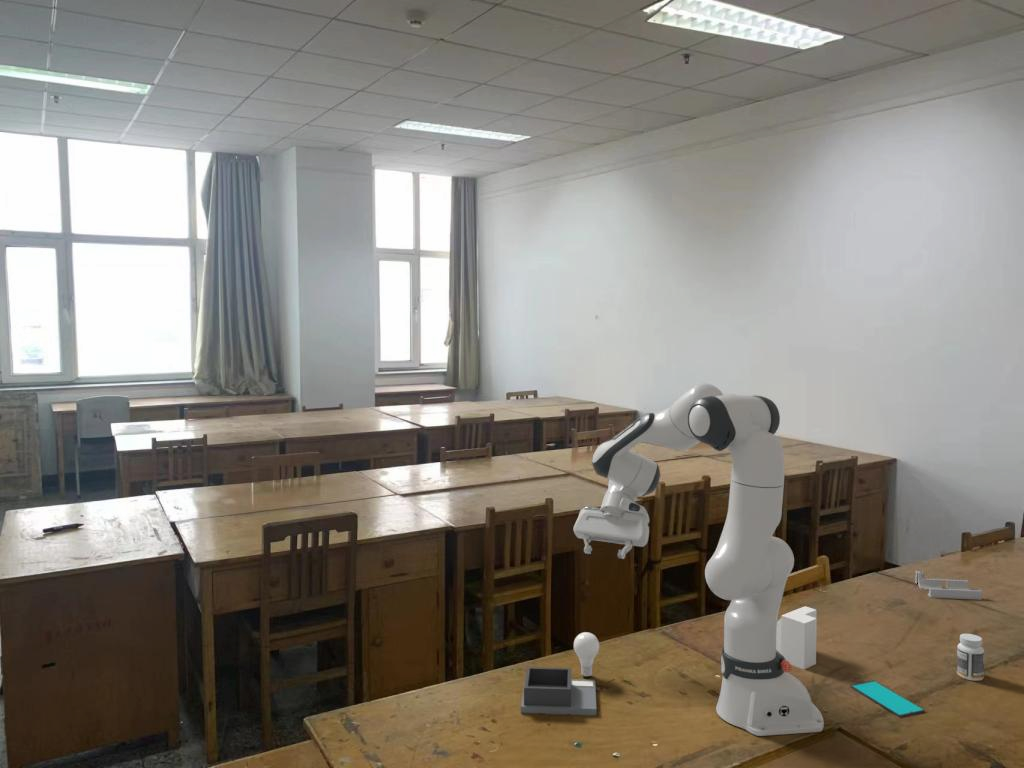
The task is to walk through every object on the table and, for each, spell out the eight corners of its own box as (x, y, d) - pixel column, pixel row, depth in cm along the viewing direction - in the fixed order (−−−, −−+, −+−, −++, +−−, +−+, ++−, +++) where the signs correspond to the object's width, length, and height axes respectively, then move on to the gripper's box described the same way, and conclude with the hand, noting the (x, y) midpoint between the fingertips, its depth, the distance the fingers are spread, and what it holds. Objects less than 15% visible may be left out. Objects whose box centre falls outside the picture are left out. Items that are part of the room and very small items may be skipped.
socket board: (595, 685, 180) (594, 663, 179) (596, 715, 166) (596, 691, 165) (525, 683, 181) (524, 661, 181) (520, 712, 167) (520, 689, 167)
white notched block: (803, 669, 187) (804, 623, 186) (765, 654, 196) (765, 610, 196) (827, 658, 193) (828, 613, 193) (788, 644, 203) (789, 601, 202)
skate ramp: (930, 598, 236) (930, 583, 236) (915, 584, 249) (915, 569, 249) (981, 601, 234) (982, 585, 234) (963, 586, 247) (964, 571, 247)
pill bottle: (981, 673, 184) (983, 634, 183) (985, 683, 179) (986, 643, 178) (955, 669, 186) (956, 630, 186) (958, 679, 181) (959, 639, 180)
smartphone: (874, 680, 180) (925, 710, 166) (873, 683, 180) (925, 713, 166) (849, 685, 178) (899, 715, 164) (849, 688, 178) (899, 719, 164)
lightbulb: (598, 683, 181) (598, 639, 180) (572, 681, 182) (572, 637, 182) (600, 671, 187) (600, 629, 187) (575, 669, 189) (575, 627, 188)
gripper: (578, 499, 205) (563, 543, 197) (650, 507, 195) (637, 554, 187) (585, 512, 209) (570, 555, 201) (655, 520, 199) (643, 566, 191)
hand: (603, 555), depth 194 cm, fingers open, 8 cm apart
